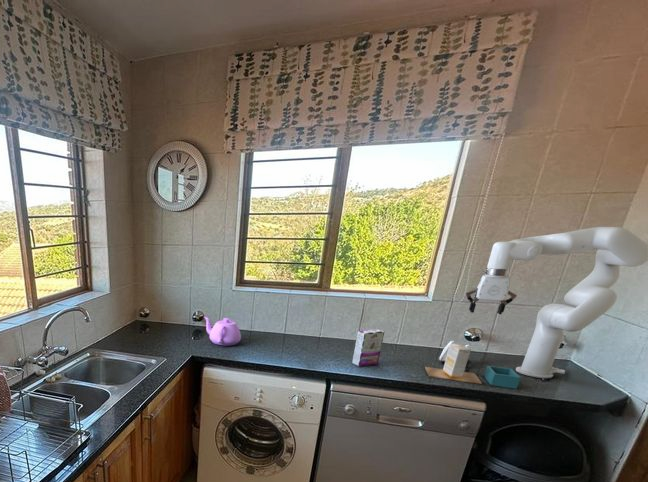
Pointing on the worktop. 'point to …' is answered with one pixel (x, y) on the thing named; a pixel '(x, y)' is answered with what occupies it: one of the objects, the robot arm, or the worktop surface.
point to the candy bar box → (368, 347)
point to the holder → (502, 377)
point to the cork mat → (440, 374)
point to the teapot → (224, 332)
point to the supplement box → (456, 360)
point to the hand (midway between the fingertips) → (485, 312)
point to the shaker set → (445, 351)
